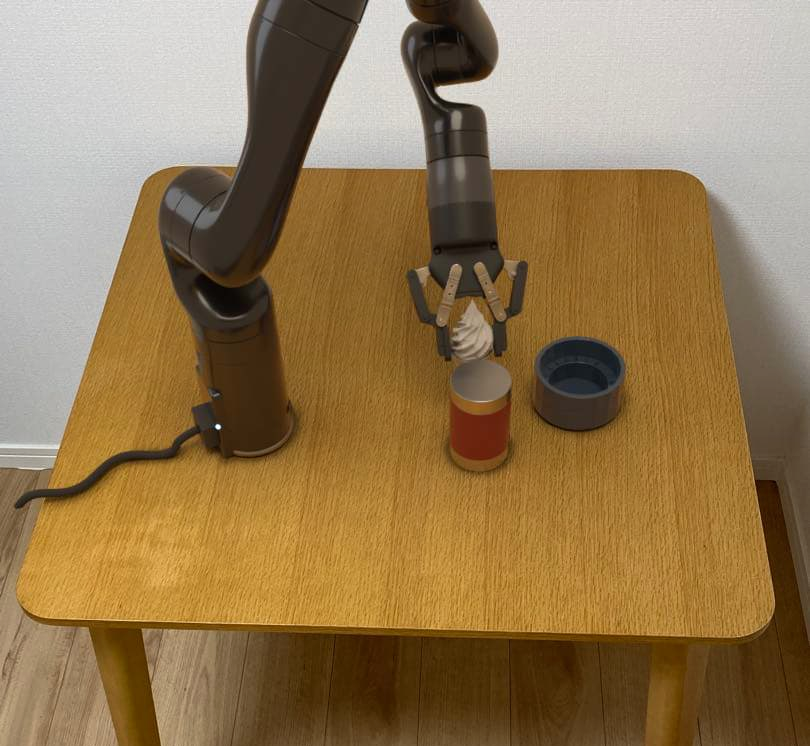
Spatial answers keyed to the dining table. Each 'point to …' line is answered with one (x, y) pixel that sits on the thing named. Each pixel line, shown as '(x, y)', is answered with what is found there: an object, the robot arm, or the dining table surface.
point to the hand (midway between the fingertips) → (473, 358)
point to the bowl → (578, 382)
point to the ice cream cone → (472, 337)
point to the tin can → (479, 415)
